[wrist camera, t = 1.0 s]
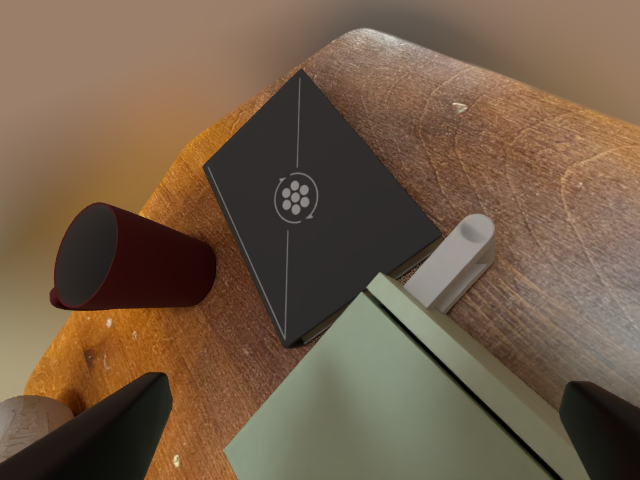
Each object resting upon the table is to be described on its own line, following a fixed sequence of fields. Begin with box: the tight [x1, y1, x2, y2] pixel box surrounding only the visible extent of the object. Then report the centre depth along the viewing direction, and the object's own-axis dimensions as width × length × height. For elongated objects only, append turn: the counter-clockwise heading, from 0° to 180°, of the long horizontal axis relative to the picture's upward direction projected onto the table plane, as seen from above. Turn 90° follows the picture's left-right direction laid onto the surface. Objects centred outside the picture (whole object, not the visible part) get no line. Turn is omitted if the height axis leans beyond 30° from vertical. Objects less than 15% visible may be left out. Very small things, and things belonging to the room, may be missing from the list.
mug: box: [50, 202, 216, 311], centre depth 32 cm, size 12×9×11 cm
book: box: [202, 69, 445, 349], centre depth 30 cm, size 22×15×3 cm
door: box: [367, 214, 590, 480], centre depth 15 cm, size 6×16×10 cm, turn 44°
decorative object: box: [0, 395, 74, 463], centre depth 35 cm, size 9×9×10 cm
